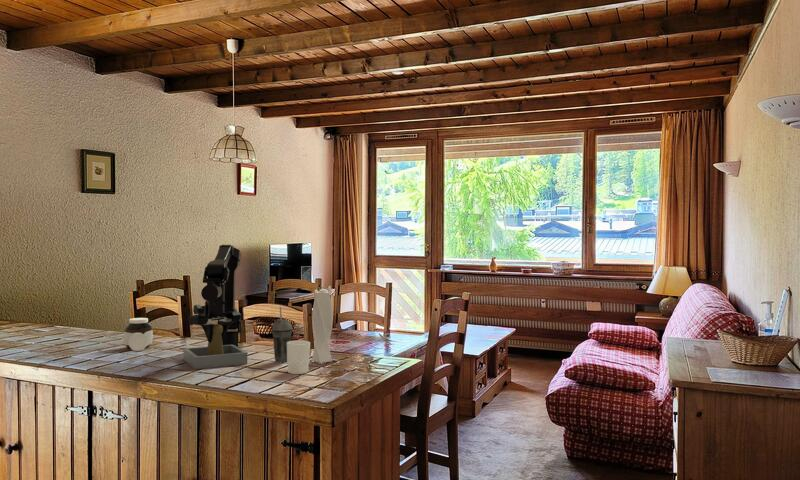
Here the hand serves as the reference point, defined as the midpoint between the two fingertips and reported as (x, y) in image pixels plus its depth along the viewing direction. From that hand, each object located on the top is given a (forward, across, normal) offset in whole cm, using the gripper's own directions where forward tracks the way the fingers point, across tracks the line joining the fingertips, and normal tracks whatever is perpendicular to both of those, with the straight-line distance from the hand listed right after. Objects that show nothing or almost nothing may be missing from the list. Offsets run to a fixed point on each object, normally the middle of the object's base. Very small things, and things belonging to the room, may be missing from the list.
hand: (215, 341), depth 208 cm
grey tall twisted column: (+7, -25, +30) cm, 39 cm away
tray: (+7, 0, 0) cm, 7 cm away
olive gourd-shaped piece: (+5, 0, 0) cm, 5 cm away
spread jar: (+8, +4, -43) cm, 43 cm away
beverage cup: (+7, -15, +18) cm, 25 cm away
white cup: (+7, -8, +34) cm, 36 cm away
